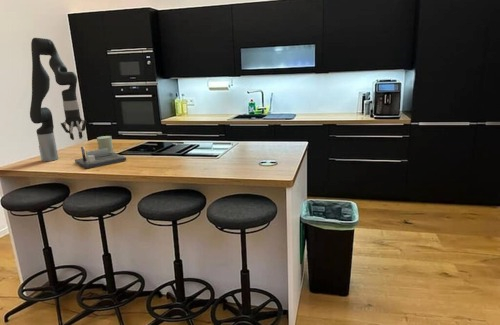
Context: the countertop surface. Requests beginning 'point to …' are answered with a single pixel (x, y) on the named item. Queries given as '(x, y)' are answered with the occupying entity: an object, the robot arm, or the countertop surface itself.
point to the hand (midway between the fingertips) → (76, 139)
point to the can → (105, 143)
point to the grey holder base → (99, 160)
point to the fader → (91, 158)
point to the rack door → (98, 152)
